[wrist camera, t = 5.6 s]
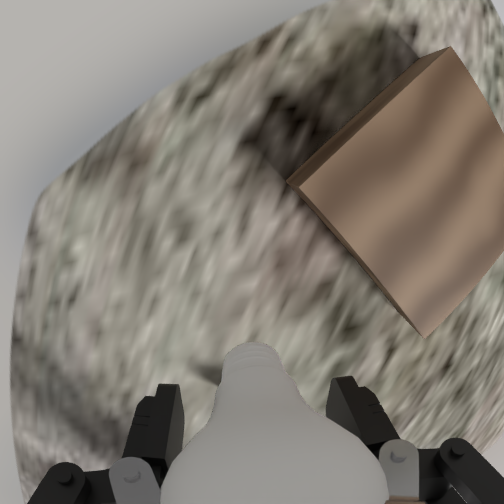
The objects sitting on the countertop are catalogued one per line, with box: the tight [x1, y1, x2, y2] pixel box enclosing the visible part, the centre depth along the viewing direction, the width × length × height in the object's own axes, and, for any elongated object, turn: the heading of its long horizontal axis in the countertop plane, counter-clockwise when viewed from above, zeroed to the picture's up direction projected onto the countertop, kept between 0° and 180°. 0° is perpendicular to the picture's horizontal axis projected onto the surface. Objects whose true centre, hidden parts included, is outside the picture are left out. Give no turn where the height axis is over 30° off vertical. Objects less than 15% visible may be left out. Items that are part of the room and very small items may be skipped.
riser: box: [286, 46, 504, 339], centre depth 24 cm, size 18×18×5 cm
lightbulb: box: [160, 342, 389, 504], centre depth 9 cm, size 6×6×11 cm
